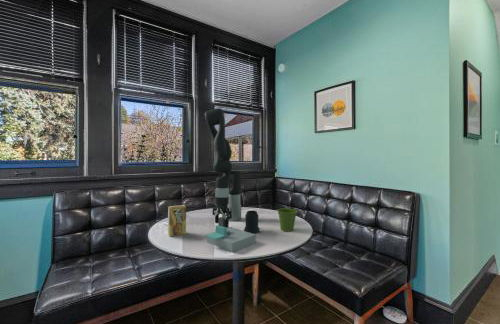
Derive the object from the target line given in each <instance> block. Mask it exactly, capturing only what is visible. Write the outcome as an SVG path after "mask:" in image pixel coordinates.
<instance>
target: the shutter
mask: <svg viewBox="0 0 500 324" xmlns="http://www.w3.org/2000/svg"><path fill="white" fill-rule="evenodd" d="M215 231H216V232H215ZM215 231H213V232H214V233H212V232H210V233H211V234H209V233H207V234H208V235H207V234H206V235H205V237H206V238H207V237H208V238H211V239H213V240H218V239H221V238H224V237H227V228H225V227H222V226H219V225H218V224H217V225H215Z"/></svg>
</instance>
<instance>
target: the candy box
mask: <svg viewBox="0 0 500 324" xmlns="http://www.w3.org/2000/svg"><path fill="white" fill-rule="evenodd" d="M167 209H168V210H167V211H168V212H167V215H168V216H167V219H168V221H167V234H168V236H169V237H174V236H175V237H176V236H180V235H181V236H182V235H186V234H187V206H186V205H185V204H181V205H171V206H168V207H167Z"/></svg>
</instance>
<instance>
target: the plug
mask: <svg viewBox="0 0 500 324" xmlns="http://www.w3.org/2000/svg"><path fill="white" fill-rule="evenodd" d="M217 225H219V226H222V227H225V218H224V216H223V215H222V214H221V216H219V218H218V223H217ZM229 226H230V225H228V226H226V227H225V228H229Z"/></svg>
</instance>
